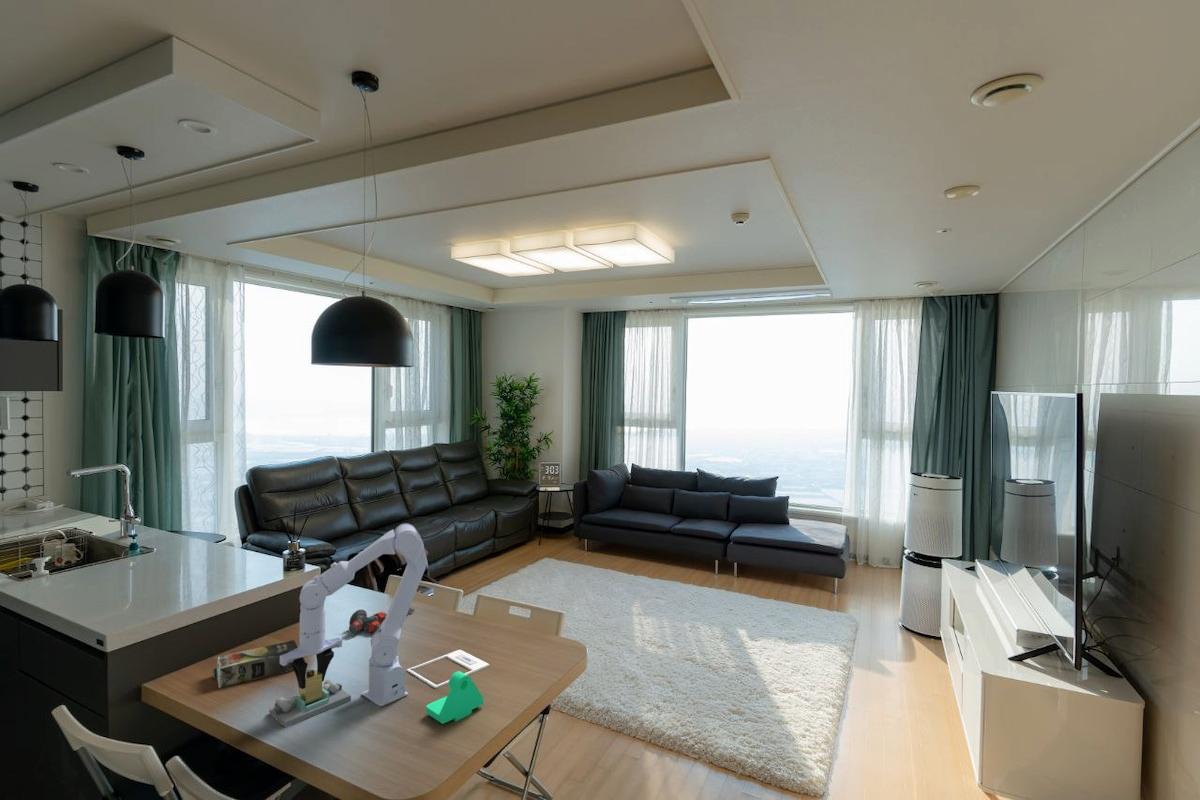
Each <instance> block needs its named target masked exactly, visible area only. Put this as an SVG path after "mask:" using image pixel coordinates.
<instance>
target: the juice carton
mask: <svg viewBox="0 0 1200 800" xmlns="http://www.w3.org/2000/svg"><path fill="white" fill-rule="evenodd" d="M297 648H299V646H298V645H297V643H296V641H295V639H291V640H289V641H285V642H280V643H275V644H269V645H265V646H261V647H256V648H250V649H247V650H242V651H237V652H234V653H233V652H232V653H228V654H224V655H223V654H222V655H219V656H218V657H217V663H216V668H214V669H213V670H212V677H213V678H214V679H216V680H217V682H218V683H217V684H218V688H219V689H220V688H224V687H229V686H232V685H233V686H234V685H238V684H241V683H244V682H249V681H250V682H251V681H255V680H258V679H262V678H268V677H271V675H272V676H275V675H274V674H276V675H279V674H278V673H280V674H282V673H281V672H285V673H287V672H286V671H289V672H291V671H290V670H293V668H292V666H291V664H290V663H287V665H285V666H282V665H281V664H280V656H281V655H284V654H286V653H288V652H290V651H293V650H295V649H297ZM293 671H294V670H293Z"/></svg>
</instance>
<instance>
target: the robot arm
mask: <svg viewBox="0 0 1200 800" xmlns="http://www.w3.org/2000/svg"><path fill="white" fill-rule="evenodd" d="M395 550H396V551H397V553H398V554H400V555H401V556H402V557H404V559H405V562H406V563H407V564H406V566H405V569H404V572H403V574H402V577H401V578H400V581H399V584H398V586H397V588H396V591H395V593H394V596H393V599H392V600H391V603H390V606H389V608H388V610H387V613H386V618H385V620H384V621H383V622H382V624H381V626H380V628H379V629H378V631H377V632H375V633H374V635H373V634H372V635H371V639H370V647H371V656H370V658H369V660H368V689H367V690H365V691H362V693H361V695H362V696H363V697H365V698H366V699H368V700H369V701H371V702H373V703H374V704H375V705H377V706H378V707H383V706H385V705H387V704H390V703H392V702H394V701H397V700H399V699H402V698H404V697H405V696H408V694H409V693H408V692H407V690H406V671H405V668H404V667H402V666H401V665H400V661H399V653H398V652H399V651H398V644H399V642H400V639H401V632H402V628H403V626H404V623H405V621H406V618H407V616H408V614H409V613H408V611H409V608H410V607H411V605H412V603H413V600H414V598H415V595H416V594H417V592H418V591H417V590H418V588H419V586H420V583H421V580H422V579H423V575H424V573H425V571H426V568H427V566H428V558H427V553H426V550H425V545H424V541H423V540H422V537H421V535H420V533H419V532H418V530H417V529H416V527H415V526H413V524H410V523H401V524H400V525H398V526H396V528H395V529H391V530H389V531H388V532H386V533H385V534H383V535H382V536H381V537H379V538H378V539H377V540H376V541H374V542H373V543H371V544H369V546H367V547H366V548H365V549H363V550H362V551H360V552H359V553H357V555H355V556H354V557H353V558H351V559H350V560H348V561H347V560H341V561H339V562H336V561H334V562H333V563H331V564H330V567H329V568H328V569H327V570H326V571H324V572H322V573H321V574H320V575H314V576H313V579H310V580H308V581H307V582H305V583H304V584H303V586H302V588H301V590H300V594H299V602H300V608H299V609H300V613H299V640H298V643H299V644H298V645H299V646H298V648H297V649H295V650H293V651H290V652H288V653H286V654H284V655H281V656H280V664H281V665H282V666H285V665H287V663H290V664H291V666H292V668H293V671H294V674H295V676H296V680H297V686H298V688H299V687H300V688H301V689H304V688H305V684H306V672H307V669H308V663H307V662H305V660H306V659H304V658H308V657H311V656H316V657H315V658H316V667H317V668H316V671H318V672H320V673H322V683H324V682H325V677H326V674H327V671H328V668H329V665H330V663H331V661H332V660H333V658H334V656H335V651H333V649H336V648H338V649H339V648H341V647H343V639H342V638H340V637H339V636H338V637H335V638H331V639H325V638H326V608H325V601H326V598H327V597H328V596H332V595H333V594H335V593H336V592H337V591H338V590H340V589H341V588H343V587H344V586H346V585H347V584H348V583H350V582H352V581H353V580H354V579H355V574H356V572H358V571H360V570H361V569H362V568H364V567H365V566H367V565H368V564H370V563H372V562H374V561H375V560H377V559H378V558H379V557H381V556H382V555H396V552H395ZM407 613H408V614H407Z"/></svg>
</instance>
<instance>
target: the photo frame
mask: <svg viewBox="0 0 1200 800" xmlns="http://www.w3.org/2000/svg"><path fill="white" fill-rule="evenodd" d="M446 658H447V659H448V660H451V661H452V662H454V663H456V664H458V665H461V666H462V667H464V668H466V669H468V670H469V671H467V672H465V673H464V674H466V675H468V676H469V675H471V674H474V673H476V672H478V671H480V670H484V669H485V668H488V667H490V664H489V663H488V662H486V661H484V660H482V659H480V658H478V657H476V656H474V655H472V654H470V653H468V652H466V651H464V650H462V649H457V650H455V651H452V652H449V653H447V654H444V655H442V656H438V657H436V658H433V659H430V660H429V661H426V662H423V663H420V664H417V665H415V666H412V667H409V668H407V669H406V672H407V671H408V673H409V672H410V673H409V674H410V675H412V674H413V675H412V676H414V675H415V676H414V677H416V678H417V677H418V679H419V680H421V681H422V682H424V683H425V682H426V684H427V685H429V686H430V687H432V688H434V689H439V688H441V687H443V686H445V685H449V680H450V679H448V680H446V681H443V682H441V683H439V684H436V683H434V682H432V681H430V680H429V679H427V678H425V676H422V675H420V674H419V673H417V672H415V671H414V670H417V669H419V667H420V668H422V667H424V665H425V666H427V665H430V664H432V662H433V663H436V662H437V661H440V660H443V659H446ZM421 666H422V667H421ZM416 668H417V669H416Z"/></svg>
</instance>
